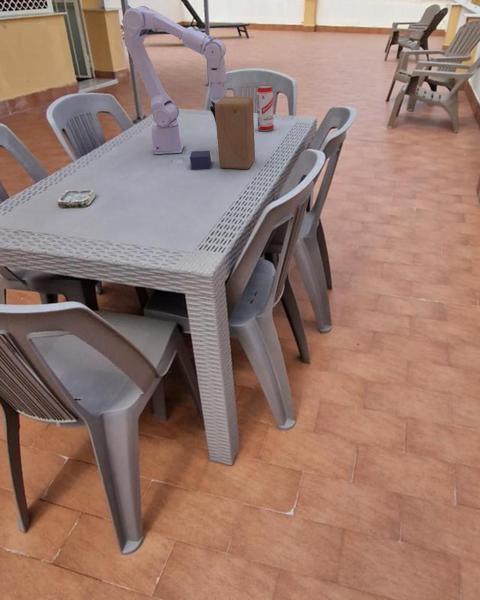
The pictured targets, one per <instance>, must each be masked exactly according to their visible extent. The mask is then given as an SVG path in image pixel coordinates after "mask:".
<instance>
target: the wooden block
mask: <svg viewBox="0 0 480 600" xmlns="http://www.w3.org/2000/svg"><path fill="white" fill-rule="evenodd" d="M215 117H216V122H215V125H216V126H215V127H216V137H217V151H218V161H219V163H218V164H219V167H220V168H221V169H235V170H237V169H238V170H248V169H250V168H251V166H252V165H253V163H254V162H255V159H256V143H255V118H254V100H253V98H252V96H234V95H233V96H231V95H227V96H224V97H222V98H221V99H220V100H219V101H218V102H216V103H215Z"/></svg>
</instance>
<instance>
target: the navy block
mask: <svg viewBox="0 0 480 600" xmlns="http://www.w3.org/2000/svg"><path fill="white" fill-rule="evenodd" d="M189 160H190V168H191V170H210V169H211V165H212V159H211V151H210V150H194V151H193V150H192V151H191V152H190V156H189Z"/></svg>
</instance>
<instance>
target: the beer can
mask: <svg viewBox="0 0 480 600" xmlns="http://www.w3.org/2000/svg"><path fill="white" fill-rule="evenodd" d="M256 112H257V113H256V114H257V129H258V130H259V131H260V132H263V133H268V132H272V131H273V129H274V125H275V124H274V90H273V89H272V85H269V84H262V85H261V84H260V85H258V86H257V90H256Z"/></svg>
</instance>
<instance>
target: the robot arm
mask: <svg viewBox="0 0 480 600" xmlns="http://www.w3.org/2000/svg"><path fill="white" fill-rule="evenodd" d="M121 23H122V26H123V33H124V34H123V35H124V38H123V39H124V45H125V47H126V49H127V51H128V54H129V56H130V58H131V60H132V62H133V65H134V66H135V68H136V71H137V73H138V75H139V77H140V79H141V81H142V83H143V85H144V87H145V90H146V92H147V94H148V96H149V98H150V109H151V111H152V119H153V121H154V123H155V124H156V125H152V126H151V138H152V145H153V149H154V150H153V151H154V155H163V154H166V155H167V154H168V155H169V154H170V155H171V154H181V153H182V152H183V149H184V144H181V136H180V128H179V121H178V118H179V115H180V110H179V107H178V105H177V104H176V103H175V102H174V101H173V100H172V98H171V96H170V95H169V94H167V92H166V91H165V89H164V87H163V85H162V82H161V80H160V78H159V76H158V73H157V71H156V69H155V67H154V64H153V63H152V61H151V58H150V56H149V54H148V53H149V52H148V50H147V49H146V46H145V44H144V42H145V39H146V36H147V34H148V32H149V31H150V30H152V29H159V30H160V31H163V32H165V33H168V34H169V35H172V36H174V37H176V38H178V39H180V40H181V41H182V43H183V46H185V47H187V48H189V49H190V50H192V51H194V52H196V53H198V54H200V55H202V56H204V59H205V60H206V63H207V64H206V65H207V66H206V68H207V79H208V91H209V97H208V98H209V101H211V104H212V105H210V106H209V109H210V112H211V114H212V115H213V118H214V123H216V117H215V103H216V102H218V101H219V100H220V99H221V98H222V97H224V96H228V88H227V87H228V86H227V71H226V70H227V69H226V60H225V55H226V53H227V47H226V45H225V43H224V42H223V40H221V39H220V38H219V37H218V38H217V37H216V38H214V37H213V35H211V34H209V35H208V34H206V33H204V32H202V31H200V28H199V27H198V26H189V27H187V28H186V27H184V26H182V25H180V24H179V23H177V22H176V21H174V20H172V19H171V18H169V17H167V16H166V15H164V14H162V13H160V12H159V11H157V10H155V9H153V8H149V7H148V6H146V5H140V6H138V7H129V8H127V9H126V11H125V12H124V14H123V16H122V20H121Z"/></svg>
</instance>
